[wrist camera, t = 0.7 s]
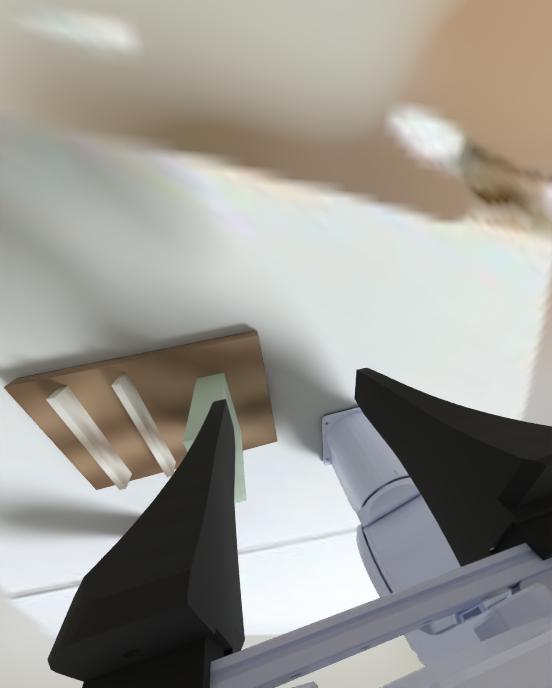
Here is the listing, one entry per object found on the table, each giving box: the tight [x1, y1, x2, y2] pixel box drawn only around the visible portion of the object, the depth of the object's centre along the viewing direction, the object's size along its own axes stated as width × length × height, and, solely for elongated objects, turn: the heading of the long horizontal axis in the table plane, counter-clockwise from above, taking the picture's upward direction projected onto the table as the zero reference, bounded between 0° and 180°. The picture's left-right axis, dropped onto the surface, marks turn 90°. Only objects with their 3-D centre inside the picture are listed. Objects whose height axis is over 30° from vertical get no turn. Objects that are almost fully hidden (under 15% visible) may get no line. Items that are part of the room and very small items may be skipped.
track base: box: [4, 331, 277, 490], centre depth 21 cm, size 14×20×3 cm
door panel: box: [183, 373, 246, 504], centre depth 18 cm, size 8×2×7 cm, turn 7°
